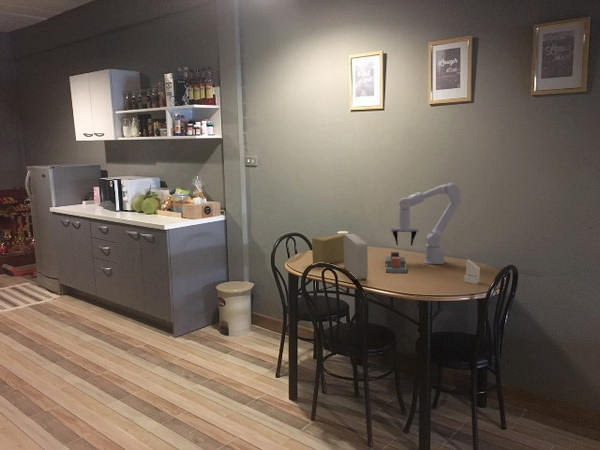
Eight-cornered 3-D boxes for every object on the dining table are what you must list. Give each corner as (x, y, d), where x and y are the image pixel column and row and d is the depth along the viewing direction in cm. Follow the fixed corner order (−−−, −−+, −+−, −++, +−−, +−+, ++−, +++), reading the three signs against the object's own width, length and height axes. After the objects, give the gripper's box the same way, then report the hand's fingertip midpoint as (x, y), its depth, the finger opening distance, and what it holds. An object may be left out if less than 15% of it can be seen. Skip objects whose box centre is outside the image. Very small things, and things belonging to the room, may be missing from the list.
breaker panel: (404, 262, 275) (404, 255, 274) (404, 267, 264) (404, 260, 263) (385, 261, 276) (385, 255, 276) (385, 266, 266) (385, 260, 265)
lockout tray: (405, 267, 263) (405, 263, 263) (406, 272, 253) (406, 268, 253) (386, 267, 265) (386, 263, 264) (385, 272, 255) (385, 268, 254)
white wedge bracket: (459, 273, 241) (468, 259, 237) (476, 286, 236) (485, 272, 231) (455, 274, 238) (464, 260, 234) (472, 288, 233) (482, 274, 229)
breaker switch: (398, 259, 268) (398, 252, 267) (398, 260, 265) (398, 253, 264) (391, 259, 268) (391, 251, 268) (391, 260, 266) (391, 253, 265)
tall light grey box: (372, 280, 242) (372, 243, 239) (356, 281, 241) (356, 244, 238) (357, 265, 270) (357, 232, 267) (343, 266, 269) (343, 233, 266)
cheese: (342, 257, 289) (342, 231, 286) (354, 260, 281) (353, 234, 279) (311, 263, 276) (311, 237, 274) (322, 267, 268) (322, 239, 266)
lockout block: (400, 268, 260) (400, 257, 259) (399, 270, 256) (399, 258, 255) (392, 267, 261) (392, 256, 260) (391, 269, 258) (391, 258, 257)
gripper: (418, 219, 274) (417, 243, 276) (390, 219, 276) (390, 243, 279) (418, 221, 267) (418, 246, 269) (390, 221, 269) (390, 246, 272)
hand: (404, 245), depth 273 cm, fingers open, 7 cm apart
